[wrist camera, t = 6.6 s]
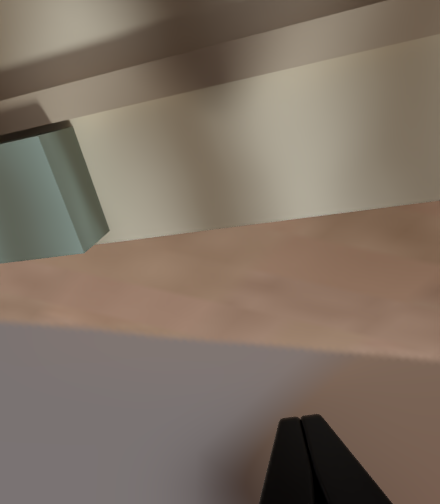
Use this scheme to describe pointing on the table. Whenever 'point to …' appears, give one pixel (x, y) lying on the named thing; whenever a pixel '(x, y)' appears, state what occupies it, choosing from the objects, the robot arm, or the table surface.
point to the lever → (209, 115)
